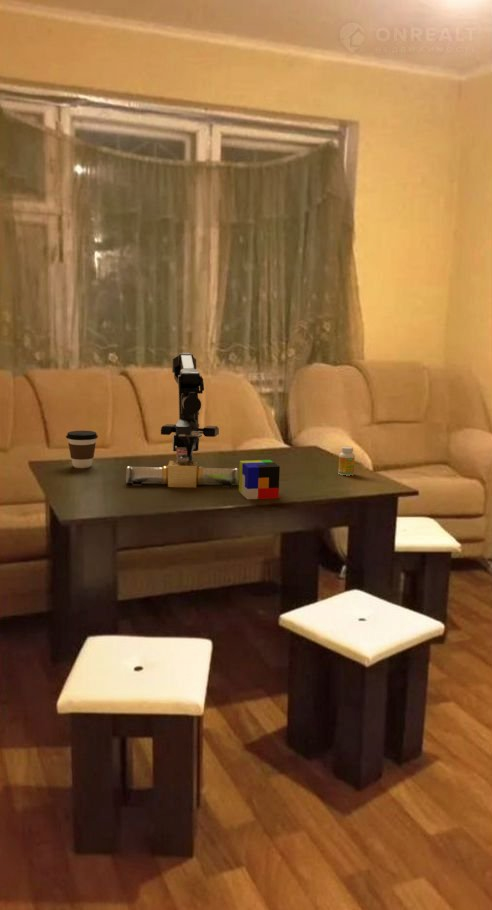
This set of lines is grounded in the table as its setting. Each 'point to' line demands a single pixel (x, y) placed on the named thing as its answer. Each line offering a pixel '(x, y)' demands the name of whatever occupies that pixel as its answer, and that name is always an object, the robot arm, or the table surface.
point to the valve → (181, 475)
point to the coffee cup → (82, 447)
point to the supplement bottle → (346, 461)
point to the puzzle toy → (259, 479)
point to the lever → (182, 455)
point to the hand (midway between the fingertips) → (190, 455)
